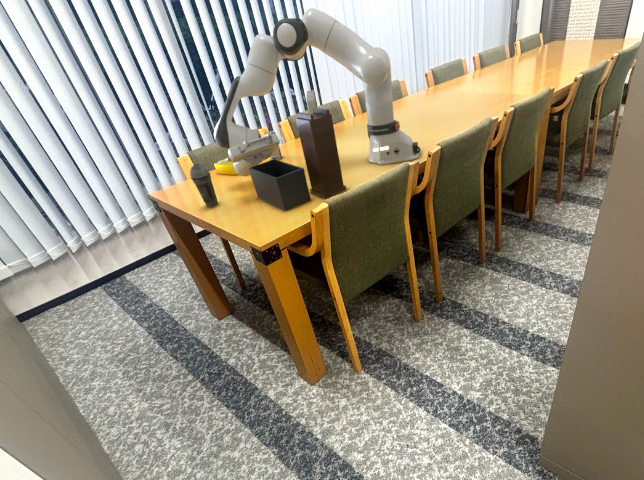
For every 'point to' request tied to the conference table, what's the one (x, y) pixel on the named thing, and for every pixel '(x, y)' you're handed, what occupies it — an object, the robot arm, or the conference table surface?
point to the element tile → (225, 167)
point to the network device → (311, 101)
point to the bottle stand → (320, 152)
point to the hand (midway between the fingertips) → (258, 138)
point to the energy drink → (277, 152)
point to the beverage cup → (203, 184)
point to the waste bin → (280, 184)
